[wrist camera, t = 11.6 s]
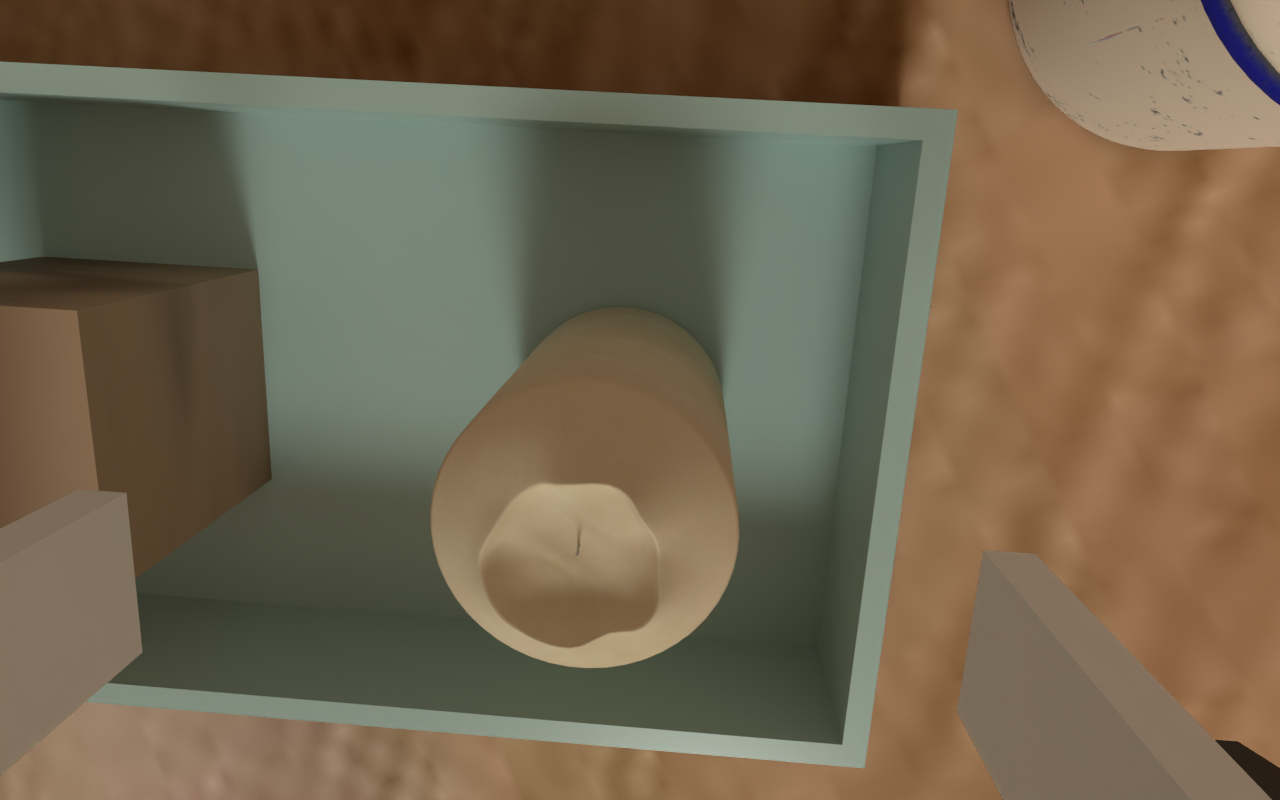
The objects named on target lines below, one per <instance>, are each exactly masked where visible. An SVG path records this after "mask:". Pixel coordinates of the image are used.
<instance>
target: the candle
mask: <svg viewBox="0 0 1280 800" xmlns="http://www.w3.org/2000/svg"><path fill="white" fill-rule="evenodd" d="M430 524H431V535H432V542H433V548H434V551H435V555H436V558H437V561H438V565H439V567H440V569H441V572H442V574H443V576H444V578H445V581H446V583H447V584H448V586H449V588H450V589H451V591H452V593H453V594H454V596H455V598H456V599H457V600H458V602H459V603H460V604H461V606H462V607H463V608H464V609H465V611H466V612H467V613H468V614H469V615H470V616H471V617H472V618H473V619H474V620H475V621H476V622H477V623H478V624H479V625H480V626H481V627H482V628H483V629H485V630H486V631H487V632H489V633H490V634H491V635H492V636H494V637H495V638H496V639H498V640H499V641H501V642H503V643H504V644H506V645H508V646H509V647H511V648H513V649H515V650H517V651H519V652H521V653H523V654H526V655H528V656H530V657H533V658H536V659H539V660H542V661H545V662H548V663H553V664H558V665H563V666H568V667H579V668H607V667H613V666H620V665H626V664H630V663H633V662H637V661H640V660H644V659H646V658H649V657H651V656H654V655H656V654H658V653H661V652H663V651H665V650H666V649H668V648H670V647H672V646H673V645H675V644H677V643H678V642H680V641H681V640H682V639H684V638H685V637H686V636H688V635H689V634H690V633H692V632H693V631H694V630H695V629H696V628H697V627H698V626H699V625H700V624H701V623H702V622H703V621H704V620H705V619H706V618H707V617H708V615H709V614H710V613H711V611H712V610H713V609H714V607H715V606H716V605H717V603H718V602H719V600H720V598H721V596H722V595H723V593H724V591H725V589H726V588H727V585H728V582H729V580H730V577H731V575H732V572H733V570H734V565H735V561H736V557H737V553H738V543H739V514H738V505H737V497H736V490H735V482H734V474H733V467H732V459H731V451H730V444H729V436H728V428H727V421H726V413H725V405H724V399H723V394H722V389H721V385H720V381H719V378H718V375H717V372H716V369H715V367H714V365H713V363H712V361H711V359H710V358H709V356H708V355H707V353H706V352H705V350H704V349H703V347H702V346H701V345H700V344H699V343H698V342H697V340H696V339H695V338H694V337H693V336H692V335H691V334H689V333H688V332H687V331H686V330H685V329H684V328H682V327H681V326H679V325H678V324H676V323H675V322H673V321H672V320H670V319H668V318H666V317H663V316H661V315H659V314H656V313H653V312H650V311H647V310H643V309H638V308H632V307H607V308H601V309H596V310H592V311H589V312H586V313H583V314H580V315H578V316H576V317H574V318H572V319H570V320H568V321H566V322H565V323H563V324H562V325H560V326H559V327H558V328H556V329H555V330H554V331H553V332H552V333H551V334H550V335H548V336H547V337H546V338H545V339H544V340H543V341H542V342H541V343H540V344H539V345H538V346H537V348H536V349H535V350H534V351H533V352H532V353H531V354H530V355H529V357H528V358H527V359H526V360H525V361H524V362H523V363H522V364H521V366H520V367H519V368H518V369H517V370H516V371H515V372H514V373H513V374H512V376H511V377H510V378H509V379H508V380H507V381H506V382H505V383H504V385H503V386H502V387H501V388H500V389H499V390H498V391H497V392H496V394H495V395H494V396H493V397H492V398H491V399H490V400H489V401H488V403H487V404H486V405H485V406H484V407H483V408H482V409H481V410H480V412H479V413H478V414H477V415H476V416H475V417H474V418H473V419H472V421H471V422H470V423H469V424H468V425H467V426H466V428H465V429H464V430H463V431H462V432H461V434H460V435H459V436H458V437H457V438H456V440H455V441H454V443H453V444H452V446H451V448H450V449H449V451H448V452H447V454H446V456H445V458H444V460H443V462H442V465H441V467H440V469H439V472H438V474H437V478H436V481H435V485H434V489H433V493H432V501H431V509H430Z"/></svg>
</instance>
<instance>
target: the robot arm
mask: <svg viewBox="0 0 1280 800" xmlns="http://www.w3.org/2000/svg"><path fill="white" fill-rule="evenodd" d="M141 653H142V642H141V632H140V622H139V613H138V603H137V593H136V583H135V573H134V563H133V553H132V543H131V533H130V523H129V514H128V504H127V494H126V493H123V492H108V491H93V490H76V491H74V492H72V493H70V494H68V495H66V496H64V497H62V498H60V499H58V500H56V501H54V502H52V503H50V504H48V505H46V506H44V507H42V508H40V509H38V510H36V511H34V512H32V513H30V514H28V515H26V516H25V517H23V518H21V519H19V520H17V521H15V522H13V523H11V524H9V525H7V526H5V527H3V528H1V529H0V776H1V775H2V774H3V773H4V772H5V771H6V770H8V769H9V768H10V767H11V766H12V765H13V764H14V763H16V762H17V761H18V760H19V759H20V758H21V757H23V756H24V755H25V754H26V753H27V752H28V751H29V750H31V749H32V748H33V747H34V746H35V745H36V744H38V743H39V742H40V741H41V740H42V739H43V738H44V737H46V736H47V735H48V734H49V733H50V732H51V731H52V730H54V729H55V728H56V727H57V726H58V725H59V724H61V723H62V722H63V721H64V720H65V719H66V718H67V717H69V716H70V715H71V714H72V713H73V712H74V711H76V710H77V709H78V708H79V707H80V706H81V705H82V704H84V703H85V702H86V701H87V700H88V699H89V698H90V697H92V696H93V695H94V694H95V693H96V692H97V691H99V690H100V689H101V688H102V687H103V686H104V685H105V684H107V683H108V682H109V681H110V680H111V679H112V678H114V677H115V676H116V675H117V674H118V673H119V672H120V671H122V670H123V669H124V668H125V667H126V666H127V665H128V664H130V663H131V662H132V661H133V660H134V659H135V658H137V657H138V656H139V655H140V654H141ZM957 713H958V715H959V717H960V719H961V721H962V722H963V724H964V726H965V728H966V730H967V732H968V734H969V736H970V738H971V740H972V741H973V743H974V745H975V747H976V749H977V751H978V753H979V755H980V757H981V759H982V760H983V762H984V764H985V766H986V768H987V770H988V772H989V774H990V776H991V778H992V780H993V781H994V783H995V785H996V787H997V789H998V791H999V793H1000V795H1001V797H1002V799H1003V800H1280V768H1279V767H1277V766H1276V765H1274V764H1272V763H1271V762H1269V761H1268V760H1266V759H1265V758H1263V757H1261V756H1260V755H1258V754H1257V753H1255V752H1254V751H1252V750H1250V749H1249V748H1247V747H1246V746H1244V745H1243V744H1241V743H1239V742H1236V741H1223V740H1214V739H1213V738H1212V737H1211V736H1210V735H1209V734H1208V733H1207V732H1206V731H1205V730H1204V729H1203V728H1202V726H1201V725H1200V724H1199V723H1198V722H1197V721H1196V720H1195V719H1194V718H1193V717H1192V716H1191V715H1190V714H1189V713H1188V712H1187V711H1186V710H1185V709H1184V708H1183V707H1182V706H1181V705H1180V704H1179V703H1178V702H1177V701H1176V699H1175V698H1174V697H1173V696H1172V695H1171V694H1170V693H1169V692H1168V691H1167V690H1166V689H1165V688H1164V687H1163V686H1162V685H1161V684H1160V683H1159V682H1158V681H1157V680H1156V679H1155V678H1154V677H1153V676H1152V675H1151V674H1150V673H1149V671H1148V670H1147V669H1146V668H1145V667H1144V666H1143V665H1142V664H1141V663H1140V662H1139V661H1138V660H1137V659H1136V658H1135V657H1134V656H1133V655H1132V654H1131V653H1130V652H1129V651H1128V650H1127V649H1126V648H1125V647H1124V646H1123V644H1122V643H1121V642H1120V641H1119V640H1118V639H1117V638H1116V637H1115V636H1114V635H1113V634H1112V633H1111V632H1110V631H1109V630H1108V629H1107V628H1106V627H1105V626H1104V625H1103V624H1102V623H1101V622H1100V621H1099V620H1098V619H1097V617H1096V616H1095V615H1094V614H1093V613H1092V612H1091V611H1090V610H1089V609H1088V608H1087V607H1086V606H1085V605H1084V604H1083V603H1082V602H1081V601H1080V600H1079V599H1078V598H1077V597H1076V596H1075V595H1074V594H1073V593H1072V592H1071V591H1070V589H1069V588H1068V587H1067V586H1066V585H1065V584H1064V583H1063V582H1062V581H1061V580H1060V579H1059V578H1058V577H1057V576H1056V575H1055V574H1054V573H1053V572H1052V571H1051V570H1050V569H1049V568H1048V567H1047V566H1046V565H1045V564H1044V562H1043V561H1042V560H1041V559H1040V558H1039V557H1038V556H1037V555H1036V554H1029V553H1014V552H1000V551H985V550H984V551H983V557H982V563H981V569H980V575H979V581H978V587H977V593H976V599H975V605H974V611H973V618H972V624H971V630H970V636H969V642H968V648H967V654H966V660H965V666H964V672H963V678H962V684H961V691H960V697H959V703H958V709H957Z"/></svg>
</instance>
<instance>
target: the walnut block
mask: <svg viewBox="0 0 1280 800" xmlns="http://www.w3.org/2000/svg"><path fill="white" fill-rule="evenodd" d="M271 479H272V474H271V459H270V443H269V428H268V412H267V397H266V382H265V366H264V351H263V335H262V320H261V304H260V289H259V273H258V270H256V269H240V268H223V267H207V266H191V265H174V264H158V263H141V262H125V261H108V260H92V259H76V258H59V257H36V258H28V259H20V260H13V261H5V262H0V529H1V528H3V527H5V526H7V525H9V524H11V523H13V522H15V521H17V520H19V519H21V518H23V517H25V516H26V515H28V514H30V513H32V512H34V511H36V510H38V509H40V508H42V507H44V506H46V505H48V504H50V503H52V502H54V501H56V500H58V499H60V498H62V497H64V496H66V495H68V494H70V493H72V492H74V491H76V490H93V491H108V492H123V493H126V494H127V504H128V514H129V523H130V533H131V543H132V553H133V563H134V573H135V579H136V578H137V577H138V576H140V575H141V574H142V573H144V572H145V571H147V570H148V569H149V568H151V567H152V566H153V565H155V564H156V563H157V562H159V561H160V560H162V559H163V558H164V557H166V556H167V555H168V554H170V553H171V552H173V551H174V550H175V549H177V548H178V547H179V546H181V545H182V544H184V543H185V542H186V541H188V540H189V539H190V538H192V537H193V536H195V535H196V534H197V533H199V532H200V531H201V530H203V529H204V528H205V527H207V526H208V525H210V524H211V523H212V522H214V521H215V520H216V519H218V518H219V517H221V516H222V515H223V514H225V513H226V512H227V511H229V510H230V509H232V508H233V507H234V506H236V505H237V504H238V503H240V502H241V501H242V500H244V499H245V498H247V497H248V496H249V495H251V494H252V493H253V492H255V491H256V490H258V489H259V488H260V487H262V486H263V485H264V484H266V483H267V482H269V481H270V480H271Z"/></svg>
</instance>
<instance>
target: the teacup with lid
mask: <svg viewBox="0 0 1280 800" xmlns="http://www.w3.org/2000/svg"><path fill="white" fill-rule="evenodd" d="M1009 8H1010V15H1011V20H1012V25H1013V30H1014V34H1015V37H1016V40H1017V43H1018V47H1019V49H1020V52H1021V54H1022V56H1023V59H1024V61H1025V63H1026V65H1027V67H1028V69H1029V71H1030V72H1031V74H1032V76H1033V78H1034V79H1035V81H1036V82H1037V84H1038V85H1039V87H1040V88H1041V89H1042V91H1043V92H1044V93H1045V95H1046V96H1047V97H1048V98H1049V99H1050V100H1051V101H1052V102H1053V104H1054V105H1055V106H1056V107H1058V108H1059V109H1060V110H1061V111H1062V112H1063V113H1064V114H1065V115H1066V116H1068V117H1069V118H1070V119H1072V120H1073V121H1075V122H1076V123H1077V124H1079V125H1080V126H1082V127H1083V128H1085V129H1087V130H1089V131H1091V132H1092V133H1094V134H1096V135H1098V136H1101V137H1103V138H1106V139H1108V140H1110V141H1113V142H1117V143H1120V144H1123V145H1127V146H1131V147H1136V148H1142V149H1147V150H1159V151H1184V150H1208V149H1231V148H1255V147H1278V146H1280V0H1009Z"/></svg>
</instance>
